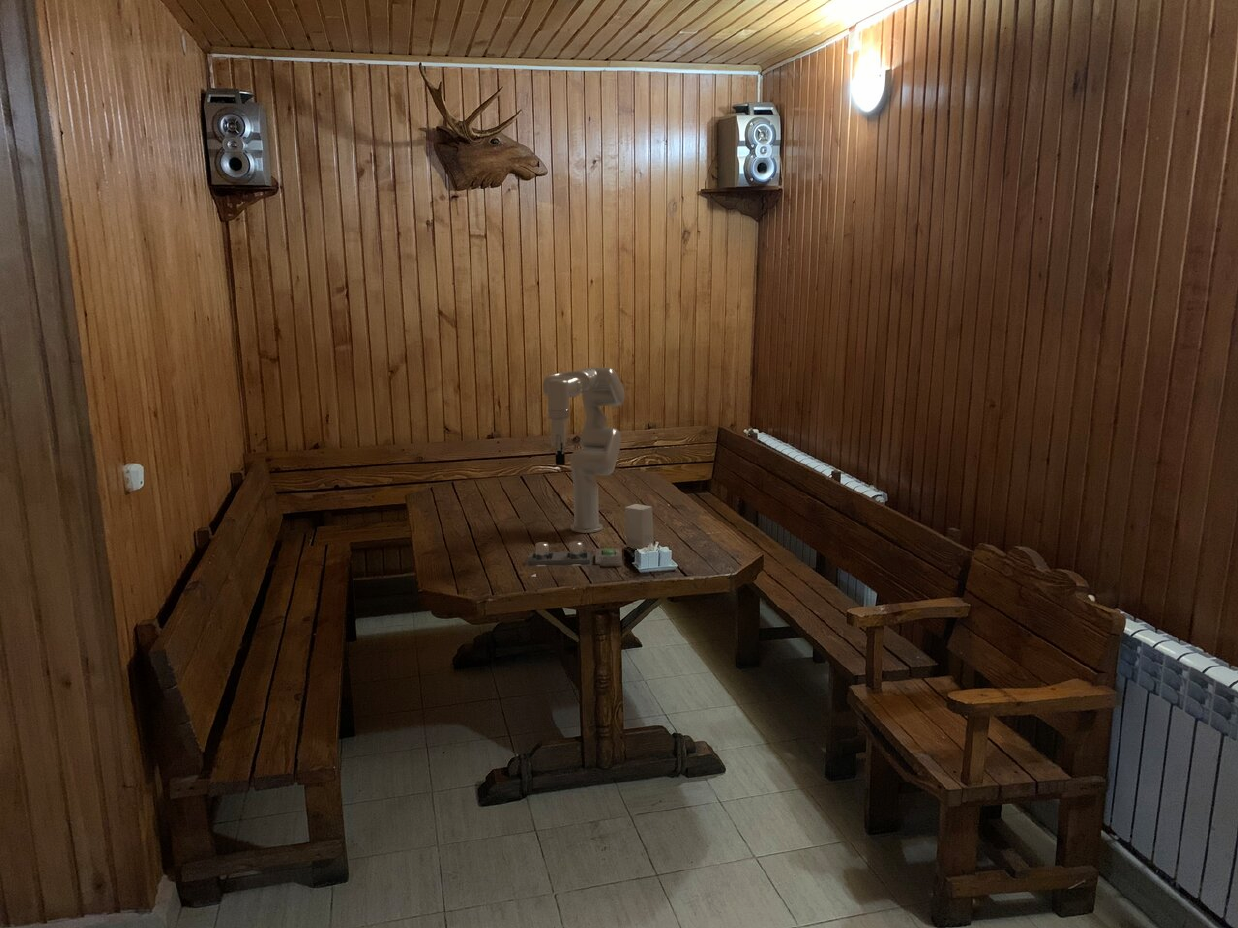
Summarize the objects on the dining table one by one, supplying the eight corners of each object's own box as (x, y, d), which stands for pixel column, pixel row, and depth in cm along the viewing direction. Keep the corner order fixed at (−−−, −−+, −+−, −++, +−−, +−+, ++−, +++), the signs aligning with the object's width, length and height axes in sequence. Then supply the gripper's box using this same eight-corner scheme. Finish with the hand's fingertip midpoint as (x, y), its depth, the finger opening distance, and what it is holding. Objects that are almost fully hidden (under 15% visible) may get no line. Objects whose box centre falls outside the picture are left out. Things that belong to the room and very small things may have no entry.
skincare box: (654, 547, 327) (653, 506, 324) (642, 552, 322) (641, 510, 319) (636, 543, 332) (636, 502, 329) (624, 547, 328) (624, 506, 324)
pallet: (528, 557, 318) (528, 550, 317) (593, 556, 318) (593, 549, 317) (524, 569, 305) (524, 562, 305) (592, 568, 305) (592, 561, 305)
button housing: (596, 558, 316) (596, 548, 315) (621, 557, 316) (621, 548, 315) (595, 566, 307) (595, 556, 306) (621, 566, 307) (621, 556, 306)
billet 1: (536, 558, 314) (535, 542, 312) (549, 558, 314) (548, 541, 312) (535, 562, 309) (534, 545, 308) (548, 562, 309) (547, 545, 308)
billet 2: (573, 557, 314) (571, 540, 313) (585, 557, 313) (584, 541, 312) (568, 561, 310) (567, 544, 309) (581, 561, 309) (580, 545, 307)
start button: (603, 557, 313) (602, 549, 313) (614, 557, 313) (614, 549, 313) (603, 561, 309) (602, 552, 309) (614, 560, 309) (614, 552, 309)
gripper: (549, 411, 326) (551, 460, 330) (546, 417, 312) (548, 469, 315) (570, 410, 326) (571, 460, 330) (568, 417, 312) (569, 468, 315)
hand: (560, 464), depth 323 cm, fingers closed
